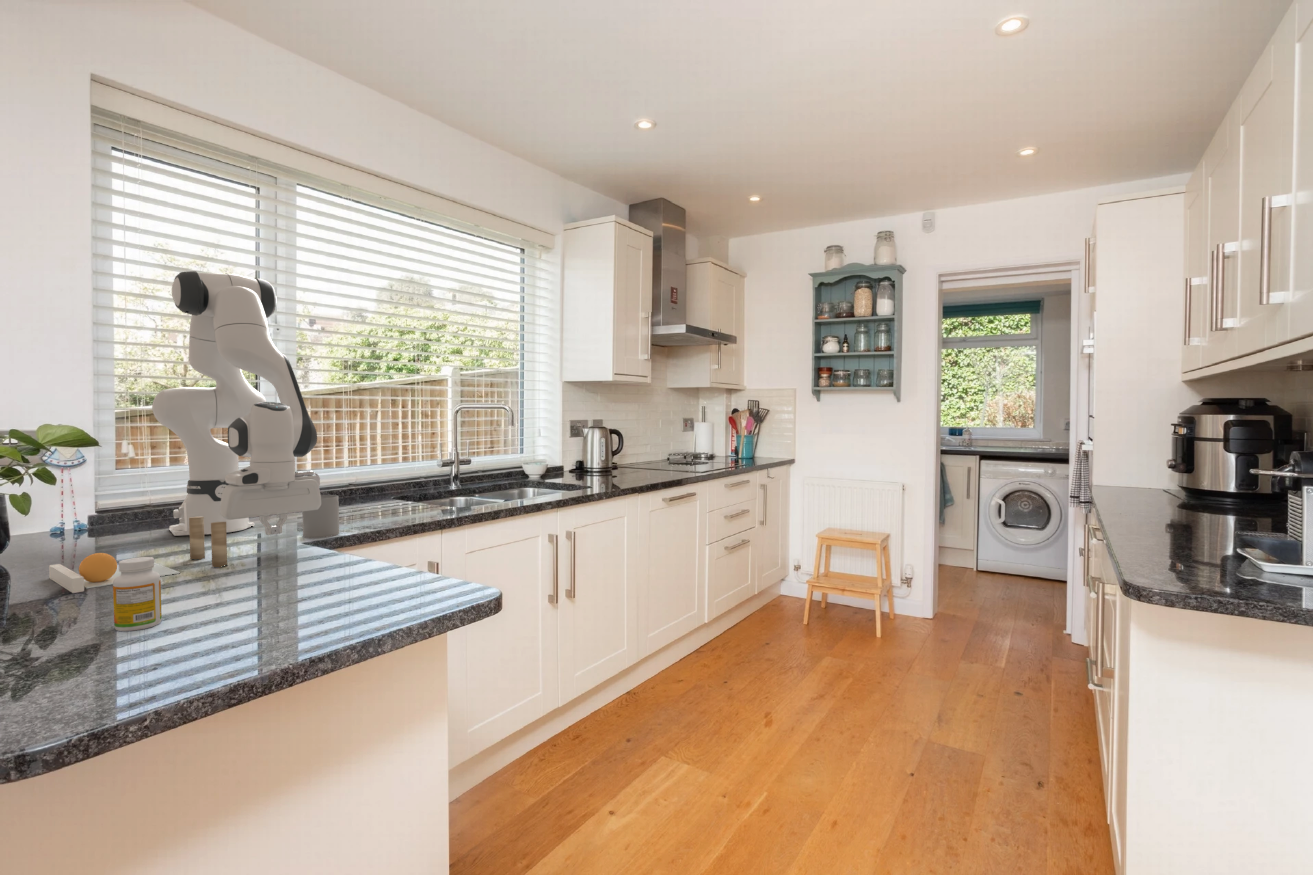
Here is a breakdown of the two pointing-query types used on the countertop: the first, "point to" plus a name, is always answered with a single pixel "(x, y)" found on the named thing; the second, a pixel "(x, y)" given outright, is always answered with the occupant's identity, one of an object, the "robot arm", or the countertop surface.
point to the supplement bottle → (137, 595)
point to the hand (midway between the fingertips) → (273, 534)
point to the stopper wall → (66, 578)
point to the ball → (98, 567)
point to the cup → (322, 518)
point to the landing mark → (157, 568)
